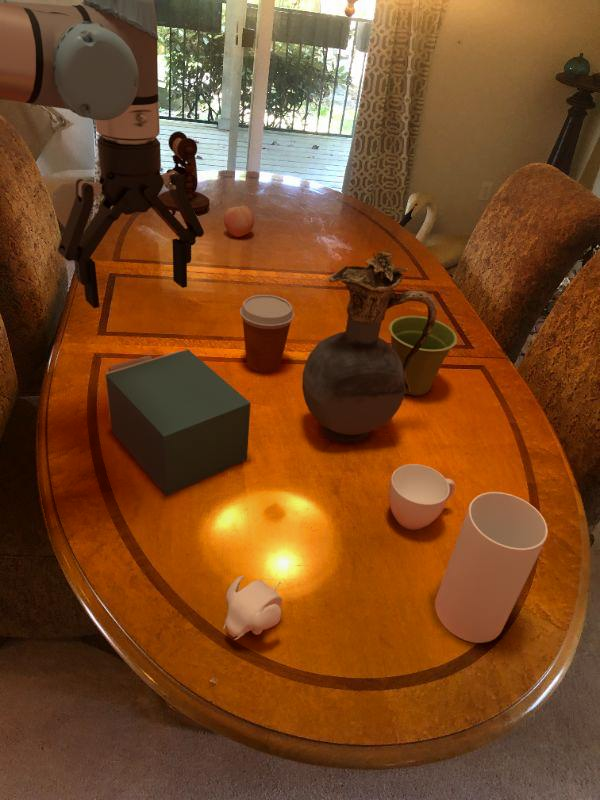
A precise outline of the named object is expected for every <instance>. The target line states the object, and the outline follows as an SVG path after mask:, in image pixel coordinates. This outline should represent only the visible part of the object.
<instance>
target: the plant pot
mask: <svg viewBox="0 0 600 800" xmlns="http://www.w3.org/2000/svg"><path fill="white" fill-rule="evenodd" d="M427 320H428V316H427V317H426V316H421V315H404V316H400V317H397V318H395V319H393V320H392V321H390V323H389V326H388V331H389V334H390V343H391V347H392V348H393V349H394V350H395V351H396V353H397V354H398V356H399V358H400V360H401V362H402V365H404V362H405V359H406V357H407V355H408V354H409V353H410V352H411V350H412V349H413V347H414V345H415V344H416V343H417V342H418V340H419V339H420V338H421V336H422V334H423V329H424V327H425V325H426V323H427ZM457 342H458V335H457V334H456V332H455V331H454V330H453V328H451V327H450V326H448V325H447V324H445V323H443V322H442V321H439V320H437V319H436V320H435V324H434V326H433V328H432V331H431V333H430V334H429V335H428V337H427V338H426V340H425V342H424V343H423V344H422V346H421V347H420V348H419V350H418V351H417V352H416V353H415V355H413V356H412V358H411V359H410V362H409V364H408V365H407V367H406V380H407V382H408V385H409V387H410V390H411V394H410V393H409V391H408V390H407V388H406V385H405V392H404V395H413V396H422V395H425V394H428V392H429V391H430V390H431V387H432V386H433V383H434V381H435V379H436V377H437V375H438V373H439V371H440V369H441V367H442V364H443V363H444V361H445V359H446V357H447V356H448V355H449V353H450V352H451V349H453V348H454V347H455V346H456V344H457Z"/></svg>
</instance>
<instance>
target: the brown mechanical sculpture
mask: <svg viewBox="0 0 600 800" xmlns="http://www.w3.org/2000/svg"><path fill="white" fill-rule="evenodd" d="M168 147H169V149H170V150H171V152H173V154H174V155H173V156H172V161H173V163H174V167H173V168H171V169H172V170H174V171H176V172H177V173H179V174H181V175H182V176H183V182H184V190H185V192H186V195H187V197H188V199H189V201H190V203H191V205H192V207H193V209H194V212H195V213H196V212H200V211H203V212H204V213H207V211H208V208H209V207H210V205H211V203H210V198H208V196H206V195H204V194H203V193H201V192H199V191H197V189H198V185H199V184H198V183H199V182H198V181H199V180H198V167H197V160H196V155H197V153H198V143H197V142H196V140H194V139H193V138H191V137H188V136H187V135H186V134H185V133H184V132H182V131H174V132H173V133H171V134H170V136H169V138H168ZM158 198H159V199H160V200H161V201H162V202H163V203H164V204H165V205H166V207H167V209H168V210H169V211H170V212H171V213H172V214H173V215H174V216H175V215H176V213H177V212H178V213H180V212H179V210H178V208H177V206H176V204H175V202H174V200H173V198H172V196H171V194H170V192H169V190H166V191H164V192H162V193H159V195H158Z"/></svg>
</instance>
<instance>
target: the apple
mask: <svg viewBox="0 0 600 800" xmlns="http://www.w3.org/2000/svg"><path fill="white" fill-rule="evenodd" d="M223 225H224V227H225V230H227V232H228V233H229V234H230V235H231V236H233V237H235V238H238V237H239V238H240V237H241V238H242V237H243V236H246V235H247V234H249V233H251V231H252V230H253V228H254V225H255V217H254V213H253V211H252V210H251V208H250V207H248V206H247V205H244V204H243V205H237V206H231V207H228V208H227V209H226V210H225V211H224V215H223Z"/></svg>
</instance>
